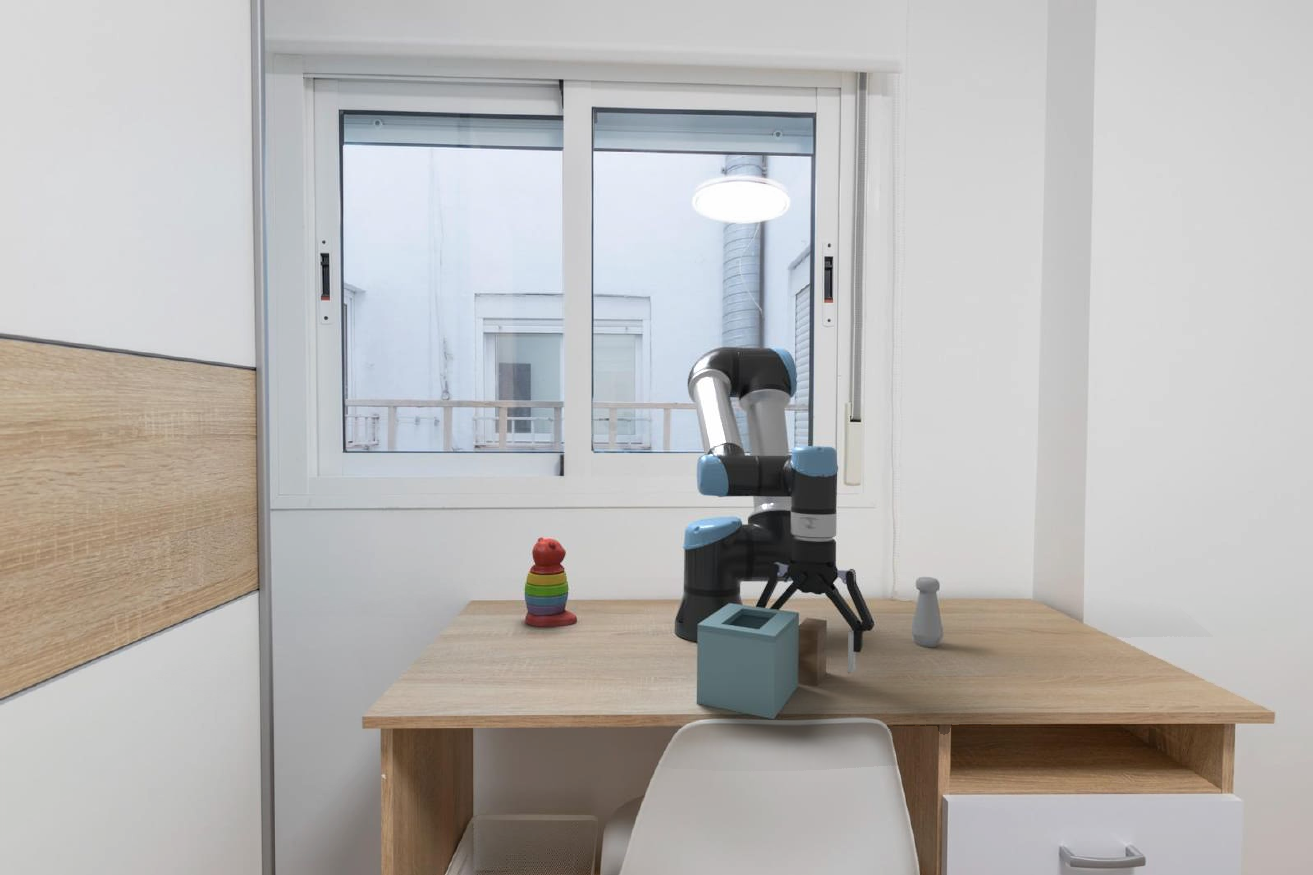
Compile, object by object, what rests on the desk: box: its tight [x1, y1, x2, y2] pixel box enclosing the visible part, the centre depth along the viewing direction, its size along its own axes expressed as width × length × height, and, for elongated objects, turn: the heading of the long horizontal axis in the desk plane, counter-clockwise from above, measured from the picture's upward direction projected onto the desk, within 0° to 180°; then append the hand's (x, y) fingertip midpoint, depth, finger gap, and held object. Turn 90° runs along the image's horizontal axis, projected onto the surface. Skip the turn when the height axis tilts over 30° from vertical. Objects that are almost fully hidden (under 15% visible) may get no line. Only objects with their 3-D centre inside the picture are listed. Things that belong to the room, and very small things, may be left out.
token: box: [798, 617, 828, 687], centre depth 111 cm, size 4×7×9 cm, turn 154°
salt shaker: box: [910, 576, 944, 648], centre depth 129 cm, size 6×6×13 cm
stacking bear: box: [523, 536, 578, 627], centre depth 142 cm, size 11×10×18 cm
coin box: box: [696, 603, 800, 720], centre depth 104 cm, size 12×14×12 cm
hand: (811, 664), depth 111 cm, fingers open, 12 cm apart
